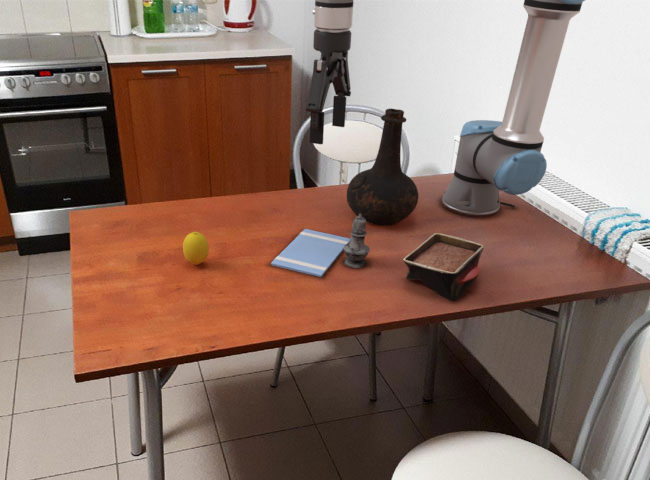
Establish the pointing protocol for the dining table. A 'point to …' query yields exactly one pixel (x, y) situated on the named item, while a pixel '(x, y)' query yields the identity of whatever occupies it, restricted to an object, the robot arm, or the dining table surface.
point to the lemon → (195, 248)
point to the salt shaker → (357, 244)
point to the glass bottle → (384, 180)
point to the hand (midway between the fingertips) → (327, 134)
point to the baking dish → (445, 264)
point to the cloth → (311, 252)
